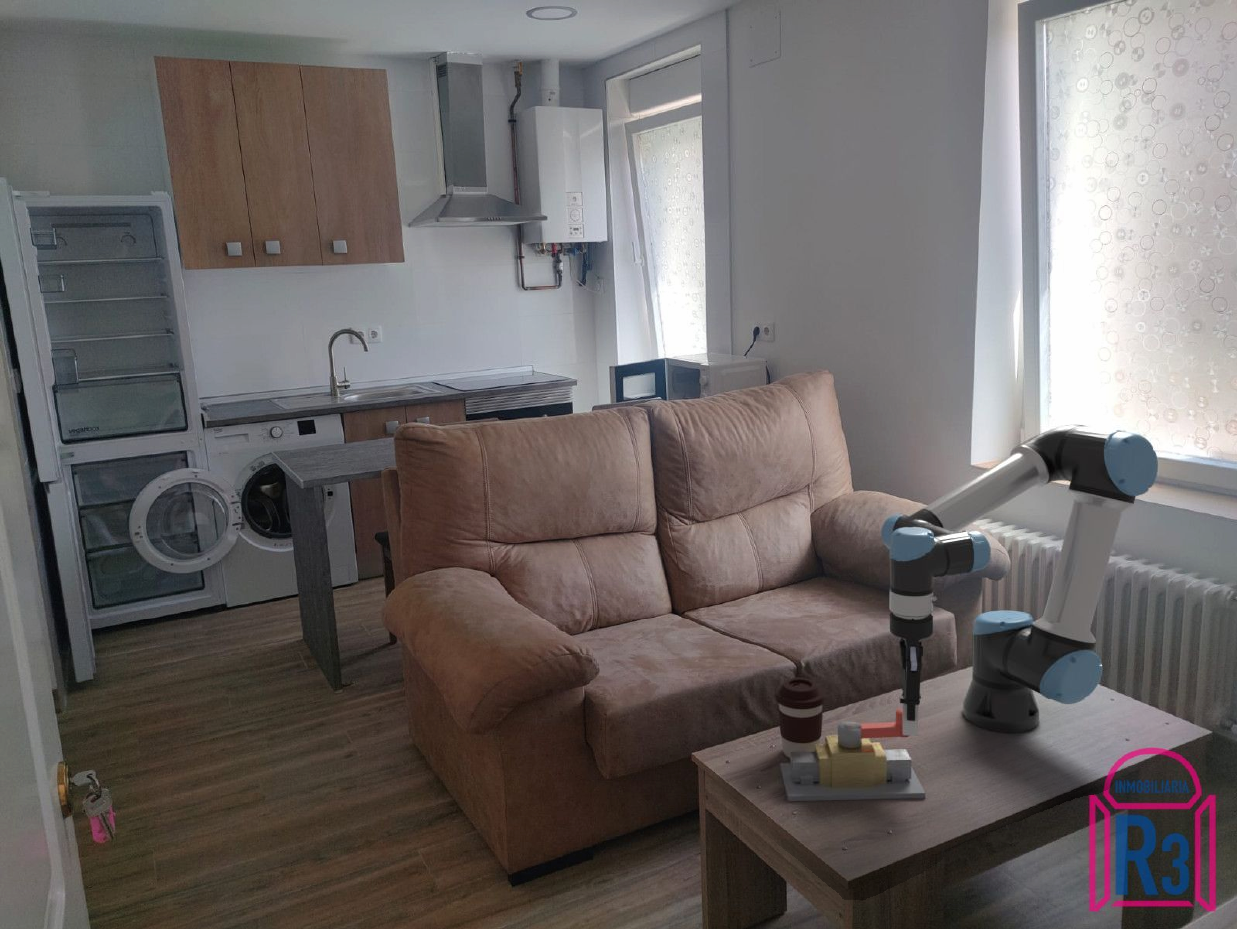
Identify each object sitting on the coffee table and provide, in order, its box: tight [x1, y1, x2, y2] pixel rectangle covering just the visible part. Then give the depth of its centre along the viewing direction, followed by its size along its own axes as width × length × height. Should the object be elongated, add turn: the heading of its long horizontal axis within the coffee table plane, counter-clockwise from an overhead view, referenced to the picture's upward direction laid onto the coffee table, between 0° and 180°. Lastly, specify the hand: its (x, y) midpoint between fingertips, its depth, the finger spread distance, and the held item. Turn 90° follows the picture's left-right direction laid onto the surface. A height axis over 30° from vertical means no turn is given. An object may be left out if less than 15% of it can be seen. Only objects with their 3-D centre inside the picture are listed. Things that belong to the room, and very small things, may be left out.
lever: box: [837, 708, 911, 748], centre depth 174 cm, size 14×4×6 cm, turn 89°
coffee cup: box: [774, 677, 826, 759], centre depth 187 cm, size 10×10×15 cm
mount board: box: [779, 762, 926, 802], centre depth 176 cm, size 25×12×1 cm, turn 87°
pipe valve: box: [789, 734, 912, 788], centre depth 176 cm, size 22×7×7 cm, turn 87°
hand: (910, 733), depth 172 cm, fingers closed
